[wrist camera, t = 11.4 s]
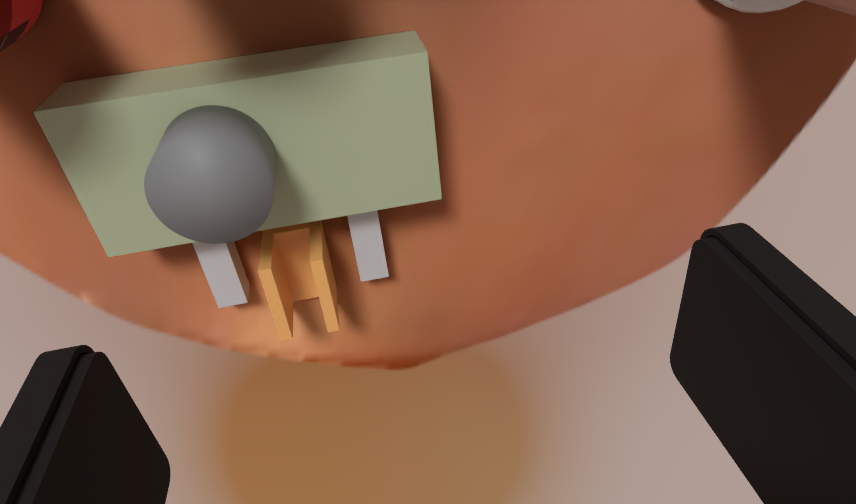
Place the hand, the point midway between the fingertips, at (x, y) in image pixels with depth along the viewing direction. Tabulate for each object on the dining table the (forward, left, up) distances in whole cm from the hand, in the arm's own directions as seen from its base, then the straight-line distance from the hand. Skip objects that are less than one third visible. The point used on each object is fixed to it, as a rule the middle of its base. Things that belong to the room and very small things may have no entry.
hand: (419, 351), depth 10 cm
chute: (+6, +17, -28) cm, 34 cm away
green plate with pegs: (+6, +11, -28) cm, 31 cm away
